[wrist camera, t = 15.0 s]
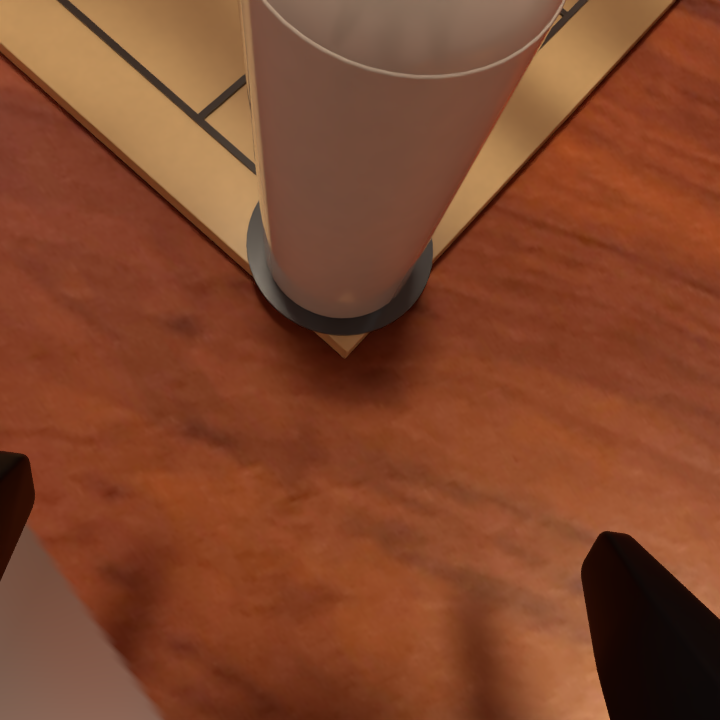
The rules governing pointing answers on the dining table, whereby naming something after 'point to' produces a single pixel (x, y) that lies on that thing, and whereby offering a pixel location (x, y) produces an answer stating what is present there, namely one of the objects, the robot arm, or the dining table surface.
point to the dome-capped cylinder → (372, 130)
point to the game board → (232, 117)
